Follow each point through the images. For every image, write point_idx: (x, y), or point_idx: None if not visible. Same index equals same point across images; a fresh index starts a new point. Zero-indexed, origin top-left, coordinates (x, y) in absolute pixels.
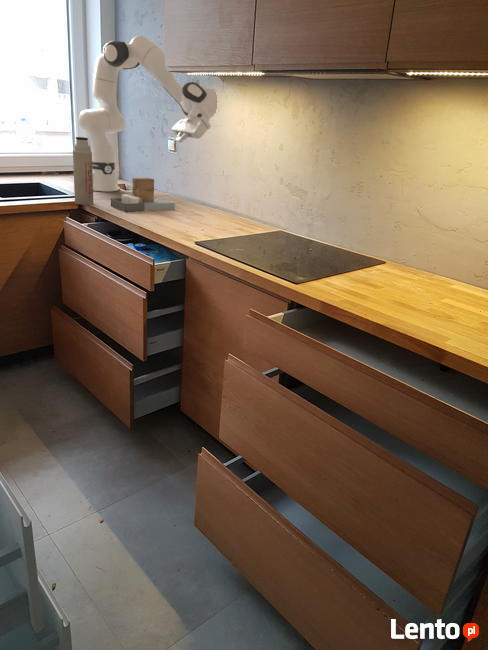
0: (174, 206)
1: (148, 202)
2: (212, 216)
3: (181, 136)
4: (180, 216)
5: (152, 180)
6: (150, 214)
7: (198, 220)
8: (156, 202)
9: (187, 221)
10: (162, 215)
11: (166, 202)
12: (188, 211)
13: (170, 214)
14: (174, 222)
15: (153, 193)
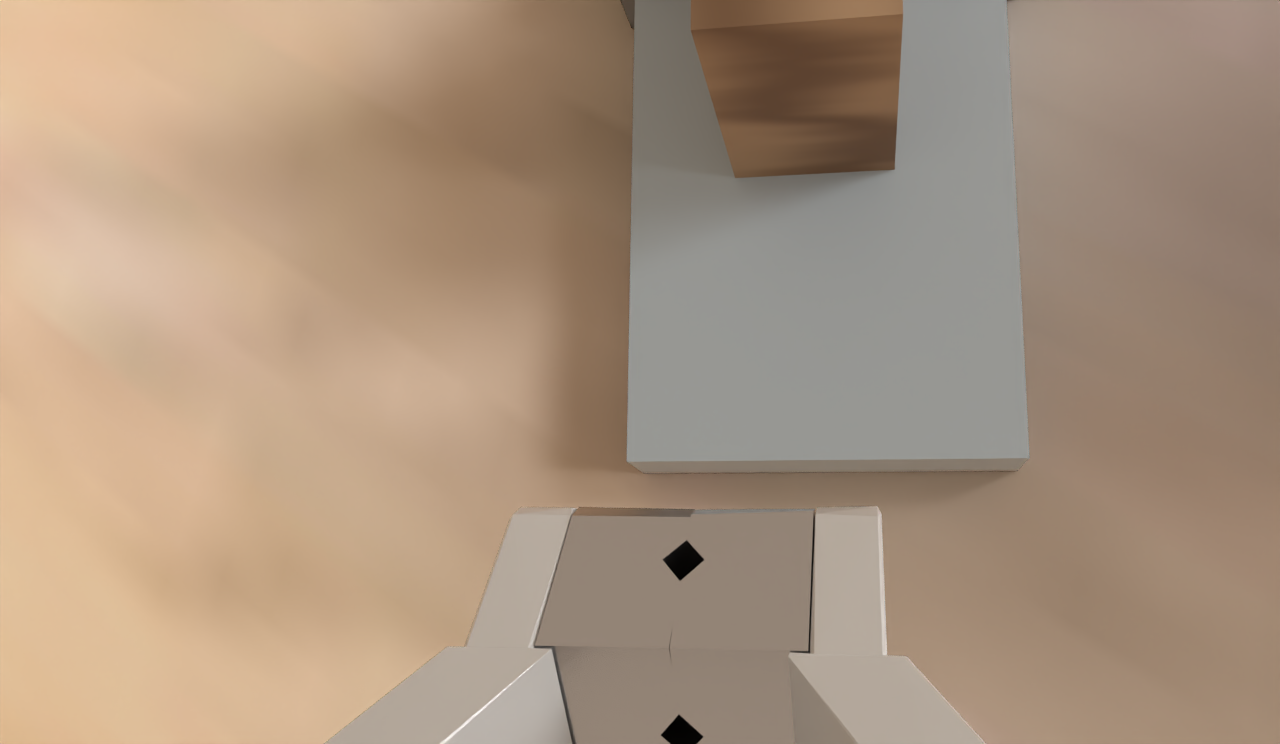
0: (636, 466)
1: None
2: (129, 722)
3: (456, 695)
4: (261, 309)
5: (694, 6)
6: (456, 22)
7: (29, 399)
8: (701, 203)
9: (38, 248)
10: (371, 129)
11: (674, 349)
12: (476, 592)
13: (389, 249)
14: (54, 90)
15: (721, 123)
